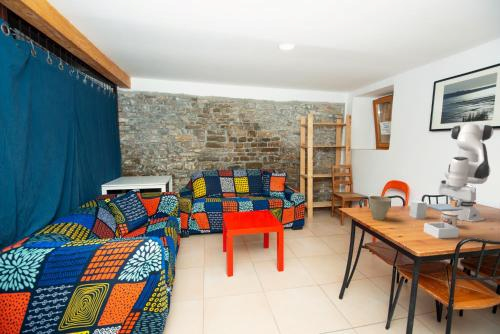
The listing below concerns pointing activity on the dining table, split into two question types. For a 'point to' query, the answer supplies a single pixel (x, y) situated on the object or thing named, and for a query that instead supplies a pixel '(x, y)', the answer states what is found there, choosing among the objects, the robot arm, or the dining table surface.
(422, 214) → the supplement box
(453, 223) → the teacup with lid
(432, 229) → the tub
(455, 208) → the lid
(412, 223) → the dining table surface
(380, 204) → the plant pot
